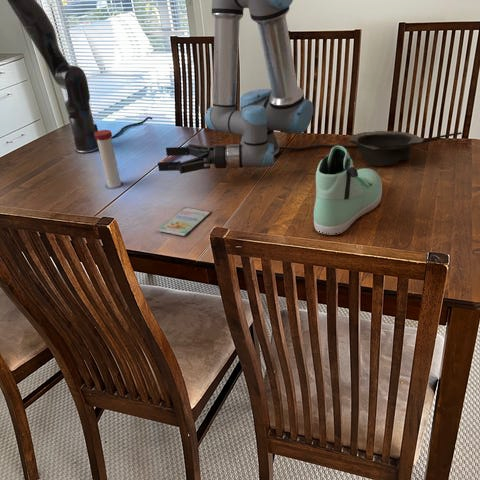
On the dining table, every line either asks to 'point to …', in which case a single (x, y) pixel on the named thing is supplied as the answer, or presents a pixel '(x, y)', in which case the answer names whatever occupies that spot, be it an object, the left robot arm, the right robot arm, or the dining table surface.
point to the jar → (109, 163)
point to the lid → (102, 134)
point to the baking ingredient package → (183, 221)
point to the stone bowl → (384, 146)
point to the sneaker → (343, 192)
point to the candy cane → (169, 158)
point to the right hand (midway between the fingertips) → (162, 158)
